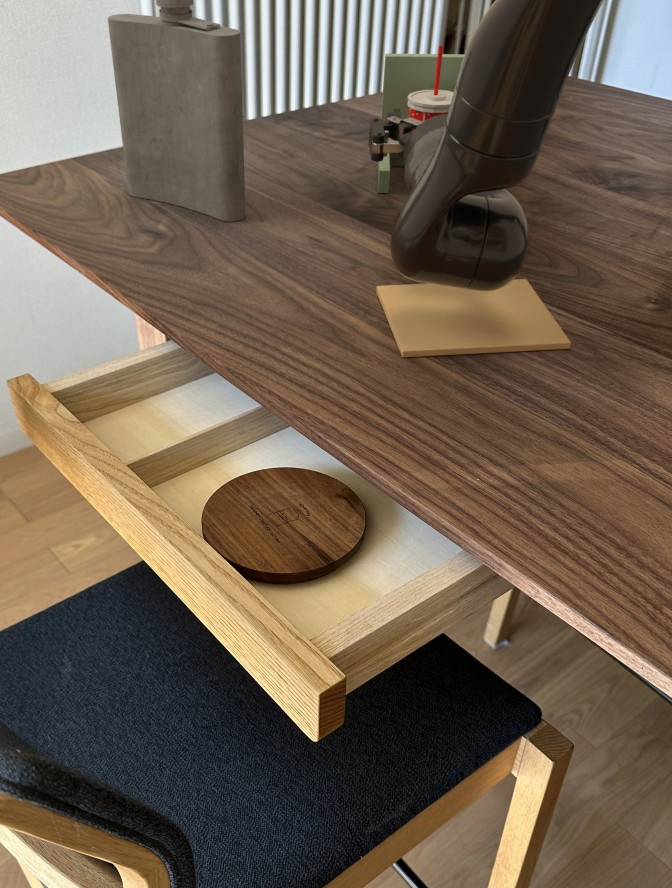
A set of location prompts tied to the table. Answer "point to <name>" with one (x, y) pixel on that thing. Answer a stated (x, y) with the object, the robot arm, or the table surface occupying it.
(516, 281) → the cork mat
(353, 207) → the table surface
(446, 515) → the table surface
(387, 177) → the tablet stand
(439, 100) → the beverage cup
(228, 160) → the hip flask
